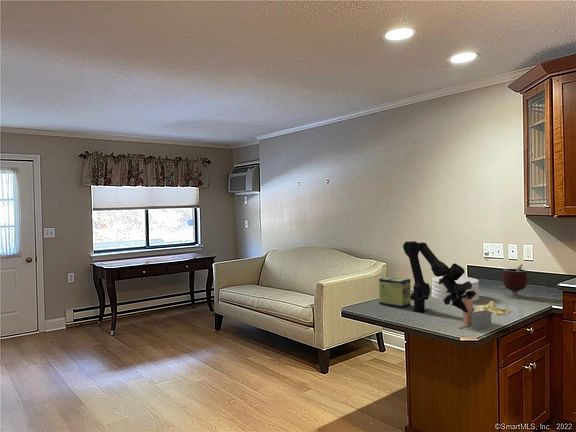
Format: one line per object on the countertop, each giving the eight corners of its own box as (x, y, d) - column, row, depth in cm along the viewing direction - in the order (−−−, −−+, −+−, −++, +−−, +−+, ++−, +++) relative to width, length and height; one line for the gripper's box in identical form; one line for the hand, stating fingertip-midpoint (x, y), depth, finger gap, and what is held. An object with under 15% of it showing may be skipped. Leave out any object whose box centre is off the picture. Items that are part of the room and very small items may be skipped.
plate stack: (449, 291, 299) (449, 274, 299) (488, 298, 276) (488, 280, 275) (422, 296, 284) (422, 278, 283) (460, 304, 260) (460, 284, 260)
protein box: (402, 308, 251) (402, 281, 250) (378, 304, 261) (378, 278, 261) (411, 305, 258) (411, 278, 258) (387, 301, 269) (387, 276, 269)
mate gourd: (519, 300, 269) (519, 267, 268) (498, 296, 280) (498, 265, 280) (533, 297, 277) (533, 265, 277) (511, 293, 289) (511, 263, 288)
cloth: (479, 306, 256) (479, 295, 256) (514, 310, 244) (514, 300, 244) (465, 313, 240) (465, 302, 240) (502, 319, 227) (502, 307, 227)
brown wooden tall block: (463, 323, 216) (463, 299, 215) (468, 322, 218) (468, 298, 217) (467, 324, 214) (467, 300, 213) (472, 323, 216) (472, 299, 215)
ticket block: (457, 328, 208) (457, 313, 208) (480, 323, 217) (480, 309, 217) (468, 331, 203) (468, 316, 203) (491, 326, 212) (491, 311, 212)
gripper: (448, 277, 214) (468, 304, 204) (473, 274, 223) (492, 299, 214) (435, 291, 221) (453, 317, 211) (460, 287, 230) (478, 312, 221)
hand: (470, 311), depth 214 cm, fingers closed on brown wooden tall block, 4 cm apart
